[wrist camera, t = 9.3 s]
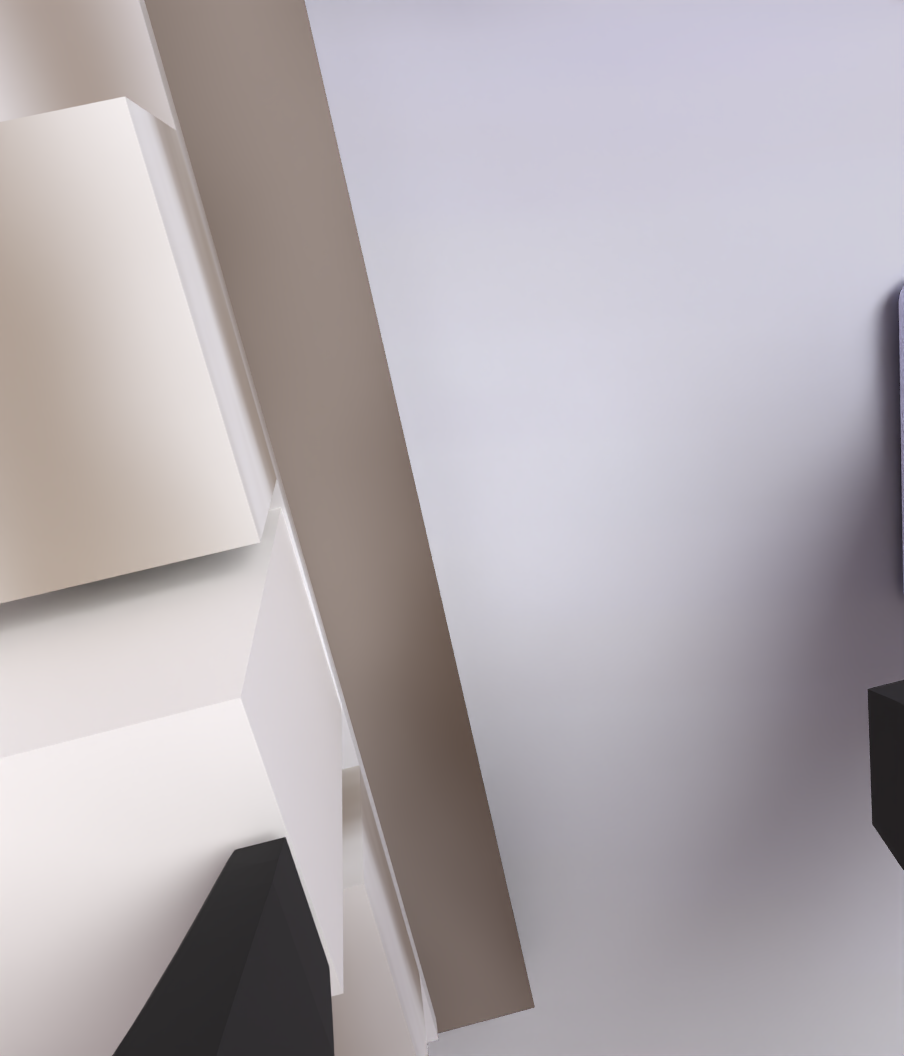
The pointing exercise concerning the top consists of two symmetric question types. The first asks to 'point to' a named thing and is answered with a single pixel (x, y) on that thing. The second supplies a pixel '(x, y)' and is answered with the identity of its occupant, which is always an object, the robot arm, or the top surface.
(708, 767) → the top surface
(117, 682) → the block
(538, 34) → the top surface
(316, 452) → the rail board
